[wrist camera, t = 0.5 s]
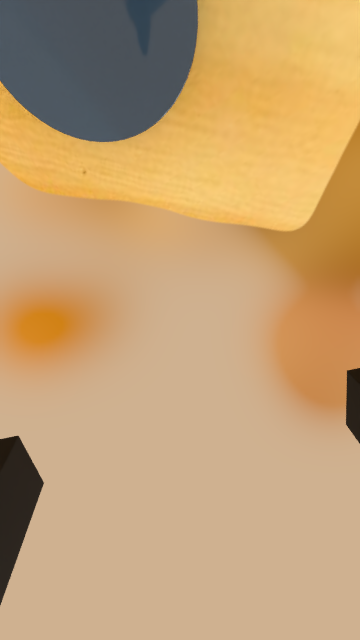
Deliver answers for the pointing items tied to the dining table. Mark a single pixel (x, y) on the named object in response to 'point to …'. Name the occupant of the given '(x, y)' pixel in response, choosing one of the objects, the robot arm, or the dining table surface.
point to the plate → (97, 62)
